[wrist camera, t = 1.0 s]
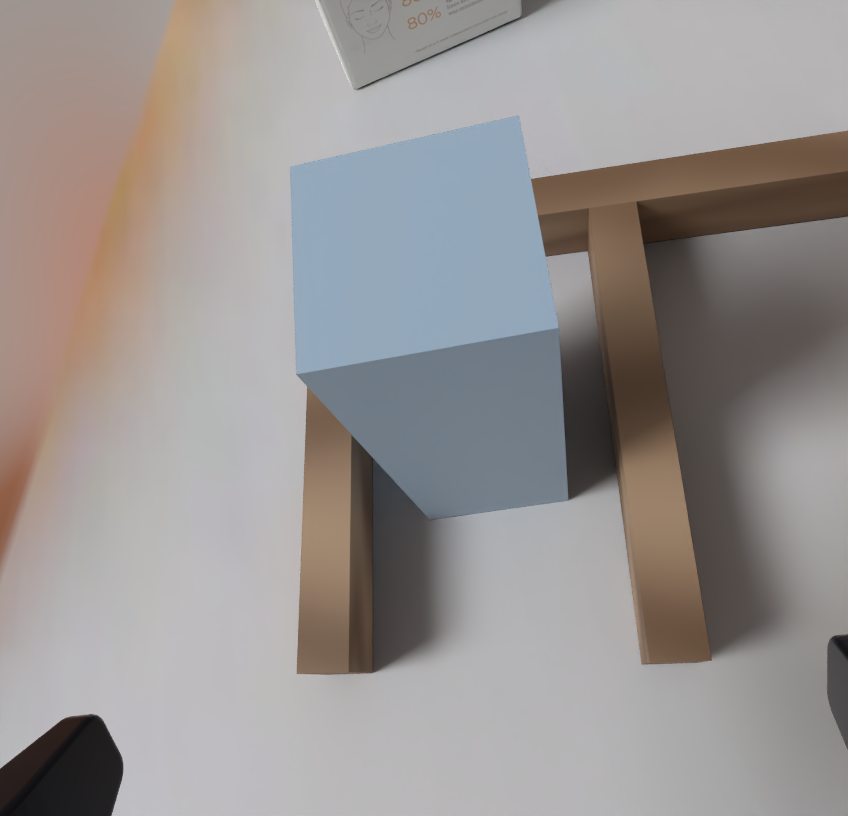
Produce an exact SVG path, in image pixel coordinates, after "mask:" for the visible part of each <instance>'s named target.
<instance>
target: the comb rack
mask: <svg viewBox="0 0 848 816" xmlns="http://www.w3.org/2000/svg"><path fill="white" fill-rule="evenodd" d="M531 183H532V188H533V193H534V198H535V204H536V209H537V214H538V220H539V225H540V230H541V236H542V241H543V246H544V251H545V256H551V255H558V254H566V253H573V252H581V251H588V255H589V263H590V270H591V278H592V286H593V293H594V301H595V309H596V316H597V324H598V332H599V339H600V347H601V355H602V362H603V370H604V378H605V385H606V393H607V401H608V408H609V416H610V424H611V432H612V439H613V447H614V455H615V462H616V470H617V478H618V485H619V493H620V501H621V508H622V516H623V524H624V531H625V539H626V547H627V554H628V562H629V570H630V577H631V585H632V593H633V600H634V608H635V616H636V624H637V631H638V639H639V647H640V654H641V662H642V664H673V663H698V662H704V661H710V660H712V659H711V653H710V647H709V641H708V635H707V629H706V623H705V617H704V611H703V605H702V599H701V593H700V586H699V580H698V574H697V568H696V562H695V556H694V550H693V544H692V538H691V532H690V526H689V520H688V513H687V507H686V501H685V495H684V489H683V483H682V477H681V471H680V465H679V459H678V453H677V447H676V440H675V434H674V428H673V422H672V416H671V410H670V404H669V398H668V392H667V386H666V380H665V373H664V367H663V361H662V355H661V349H660V343H659V337H658V331H657V325H656V319H655V313H654V307H653V300H652V294H651V288H650V282H649V276H648V270H647V264H646V258H645V252H644V246H643V243H649V242H656V241H664V240H671V239H679V238H686V237H694V236H701V235H709V234H716V233H724V232H731V231H739V230H746V229H754V228H761V227H769V226H776V225H784V224H791V223H799V222H806V221H814V220H821V219H829V218H837V217H844V216H848V131H843V132H836V133H830V134H823V135H817V136H810V137H804V138H797V139H791V140H784V141H777V142H771V143H764V144H758V145H751V146H745V147H738V148H732V149H725V150H718V151H712V152H705V153H699V154H692V155H686V156H679V157H672V158H666V159H659V160H653V161H646V162H640V163H633V164H627V165H620V166H613V167H607V168H600V169H594V170H587V171H581V172H574V173H568V174H561V175H554V176H548V177H541V178H535V179H531ZM360 673H373V457H372V456H371V455H370V454H369V453H368V452H367V451H366V450H365V449H364V448H363V447H362V445H361V444H360V443H359V442H358V441H357V440H356V439H355V438H354V437H353V436H352V435H351V433H350V432H349V431H348V430H347V429H346V428H345V427H344V426H343V425H342V424H341V423H340V421H339V420H338V419H337V418H336V417H335V416H334V415H333V414H332V413H331V412H330V411H329V409H328V408H327V407H326V406H325V405H324V404H323V403H322V402H321V401H320V400H319V399H318V397H317V396H316V395H315V394H314V393H313V392H312V391H311V390H310V389H309V388H308V387H307V410H306V437H305V464H304V491H303V519H302V546H301V573H300V600H299V628H298V655H297V674H323V675H329V674H360Z"/></svg>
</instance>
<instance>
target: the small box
mask: <svg viewBox="0 0 848 816" xmlns="http://www.w3.org/2000/svg"><path fill="white" fill-rule="evenodd" d="M315 3H316V5H317V8H318V10H319V12H320V15H321V17H322V20H323V22H324V24H325V27H326V29H327V32H328V34H329V37H330V39H331V41H332V44H333V46H334V48H335V51H336V53H337V55H338V58H339V60H340V62H341V64H342V67H343V69H344V71H345V74H346V76H347V78H348V80H349V83H350V85H351V87H352V88H353V89H358V88H360V87H362V86H365V85H367V84H369V83H371V82H373V81H376V80H378V79H380V78H383V77H385V76H387V75H389V74H391V73H394V72H396V71H399V70H401V69H403V68H406V67H408V66H410V65H412V64H415V63H417V62H419V61H421V60H424V59H426V58H428V57H431V56H433V55H435V54H437V53H440V52H442V51H444V50H447V49H449V48H451V47H453V46H456V45H458V44H460V43H462V42H465V41H467V40H469V39H472V38H474V37H476V36H478V35H480V34H483V33H485V32H487V31H490V30H492V29H494V28H496V27H498V26H501V25H503V24H505V23H508V22H510V21H512V20H514V19H517V18H519V17H520V16H521V14H522V4H521V0H315Z"/></svg>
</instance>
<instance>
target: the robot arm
mask: <svg viewBox="0 0 848 816" xmlns="http://www.w3.org/2000/svg"><path fill="white" fill-rule="evenodd" d="M827 694H828V700H829V704H830V707H831V710H832V713H833V716H834V718H835V720H836V723H837V725H838V728H839V730H840V732H841V735H842V737H843V739H844V742H845V744H846V747H847V749H848V634H846V635H836V636H834V637H832V638H831V639H830V640H829V643H828V661H827ZM122 776H123V760H122V757H121V754H120V752H119V750H118V748H117V746H116V744H115V743H114V741H113V739H112V737H111V735H110V733H109V731H108V729H107V727H106V725H105V723H104V721H103V720H102V719H101V718H100V717H99V716H97V715H94V714H89V715H80V716H71V717H67V718H65V719H63V720H61V721H60V722H59V723H57V724H56V725H55V726H54V727H52V728H51V729H50V730H49V731H47V732H46V733H45V734H44V735H42V736H41V737H40V738H38V739H37V740H36V741H35V742H33V743H32V744H31V745H30V746H28V747H27V748H26V749H25V750H23V751H22V752H21V753H19V754H18V755H17V756H16V757H14V758H13V759H12V760H11V761H9V762H8V763H7V764H6V765H4V766H3V767H2V768H1V769H0V816H111V815H112V812H113V808H114V805H115V802H116V798H117V795H118V791H119V788H120V784H121V781H122Z"/></svg>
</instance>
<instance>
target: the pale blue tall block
mask: <svg viewBox="0 0 848 816" xmlns="http://www.w3.org/2000/svg"><path fill="white" fill-rule="evenodd" d="M290 180H291V213H292V247H293V281H294V314H295V348H296V375H297V376H298V377H299V378H300V379H301V380H302V381H303V382H304V383H305V384H306V385H307V387H308V388H309V389H310V390H311V391H312V392H313V393H314V394H315V395H316V396H317V397H318V399H319V400H320V401H321V402H322V403H323V404H324V405H325V406H326V407H327V408H328V409H329V411H330V412H331V413H332V414H333V415H334V416H335V417H336V418H337V419H338V420H339V421H340V423H341V424H342V425H343V426H344V427H345V428H346V429H347V430H348V431H349V432H350V433H351V435H352V436H353V437H354V438H355V439H356V440H357V441H358V442H359V443H360V444H361V445H362V447H363V448H364V449H365V450H366V451H367V452H368V453H369V454H370V455H371V456H372V457H373V459H374V460H375V461H376V462H377V463H378V464H379V465H380V466H381V467H382V468H383V469H384V471H385V472H386V473H387V474H388V475H389V476H390V477H391V478H392V479H393V480H394V481H395V483H396V484H397V485H398V486H399V487H400V488H401V489H402V490H403V491H404V492H405V493H406V495H407V496H408V497H409V498H410V499H411V500H412V501H413V502H414V503H415V504H416V505H417V507H418V508H419V509H420V510H421V511H422V512H423V513H424V514H425V515H426V516H427V517H428V519H429V520H433V519H440V518H447V517H454V516H461V515H468V514H475V513H482V512H489V511H496V510H504V509H511V508H518V507H525V506H532V505H539V504H546V503H553V502H560V501H567V500H568V485H567V467H566V449H565V430H564V412H563V393H562V375H561V357H560V338H559V325H558V320H557V315H556V310H555V304H554V299H553V294H552V288H551V283H550V278H549V273H548V267H547V262H546V257H545V251H544V246H543V241H542V236H541V230H540V225H539V220H538V214H537V209H536V204H535V198H534V193H533V188H532V183H531V177H530V172H529V167H528V161H527V156H526V151H525V146H524V140H523V135H522V130H521V124H520V119H519V116H514V117H510V118H505V119H501V120H496V121H492V122H487V123H483V124H478V125H474V126H470V127H465V128H461V129H456V130H452V131H447V132H443V133H438V134H434V135H429V136H425V137H420V138H416V139H411V140H407V141H403V142H398V143H394V144H389V145H385V146H380V147H376V148H371V149H367V150H362V151H358V152H353V153H349V154H345V155H340V156H336V157H331V158H327V159H322V160H318V161H313V162H309V163H304V164H300V165H295V166H291V167H290Z"/></svg>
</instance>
